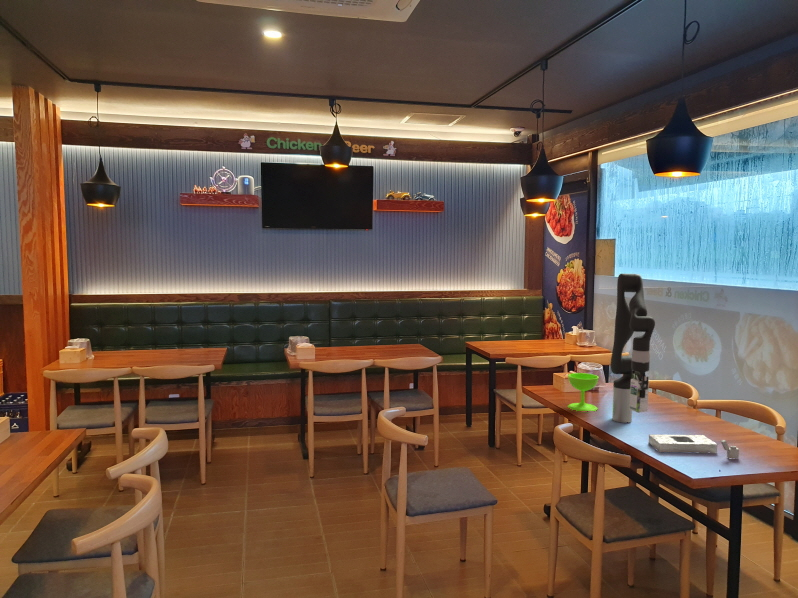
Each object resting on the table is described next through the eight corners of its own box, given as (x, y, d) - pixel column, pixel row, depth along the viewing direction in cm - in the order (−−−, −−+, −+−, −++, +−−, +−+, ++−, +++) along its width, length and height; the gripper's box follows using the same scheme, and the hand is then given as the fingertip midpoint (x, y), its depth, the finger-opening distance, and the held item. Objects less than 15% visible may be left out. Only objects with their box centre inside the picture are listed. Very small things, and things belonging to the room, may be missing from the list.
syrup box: (628, 409, 261) (630, 378, 260) (638, 408, 263) (640, 377, 262) (637, 412, 256) (639, 381, 255) (648, 411, 258) (649, 380, 257)
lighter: (736, 457, 237) (737, 439, 237) (738, 459, 236) (739, 440, 235) (719, 458, 237) (720, 439, 236) (722, 459, 235) (723, 440, 235)
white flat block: (648, 443, 255) (649, 434, 255) (703, 444, 254) (703, 435, 254) (659, 452, 243) (659, 443, 243) (716, 453, 242) (717, 444, 242)
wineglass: (601, 412, 305) (602, 379, 303) (571, 412, 305) (572, 379, 304) (592, 404, 321) (593, 373, 319) (563, 404, 321) (564, 373, 320)
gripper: (626, 356, 265) (625, 391, 266) (637, 363, 250) (636, 399, 252) (643, 357, 264) (641, 391, 266) (655, 363, 250) (653, 400, 252)
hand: (639, 395), depth 259 cm, fingers closed on syrup box, 7 cm apart
